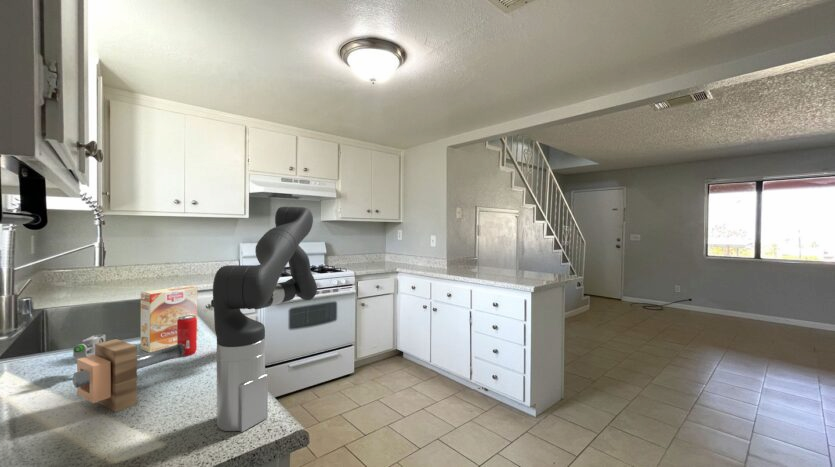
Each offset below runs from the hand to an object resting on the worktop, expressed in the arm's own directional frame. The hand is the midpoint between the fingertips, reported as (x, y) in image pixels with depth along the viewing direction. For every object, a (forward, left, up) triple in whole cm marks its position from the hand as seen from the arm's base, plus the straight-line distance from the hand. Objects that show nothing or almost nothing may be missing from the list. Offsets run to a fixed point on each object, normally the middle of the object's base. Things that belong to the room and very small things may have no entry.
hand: (220, 305), depth 103 cm
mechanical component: (+24, +22, -18) cm, 37 cm away
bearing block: (0, +25, -18) cm, 31 cm away
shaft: (0, +22, -12) cm, 25 cm away
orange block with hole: (0, +29, -15) cm, 33 cm away
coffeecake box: (+32, -2, -18) cm, 37 cm away
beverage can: (+18, 0, -18) cm, 25 cm away
